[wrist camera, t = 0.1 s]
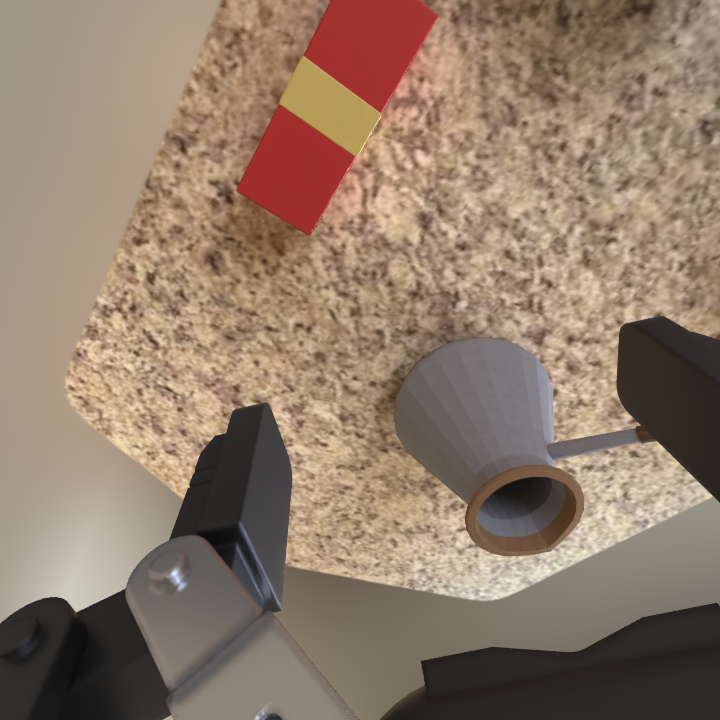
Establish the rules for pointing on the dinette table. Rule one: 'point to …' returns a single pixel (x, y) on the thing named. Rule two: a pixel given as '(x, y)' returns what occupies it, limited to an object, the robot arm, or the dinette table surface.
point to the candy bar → (333, 105)
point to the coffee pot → (497, 442)
